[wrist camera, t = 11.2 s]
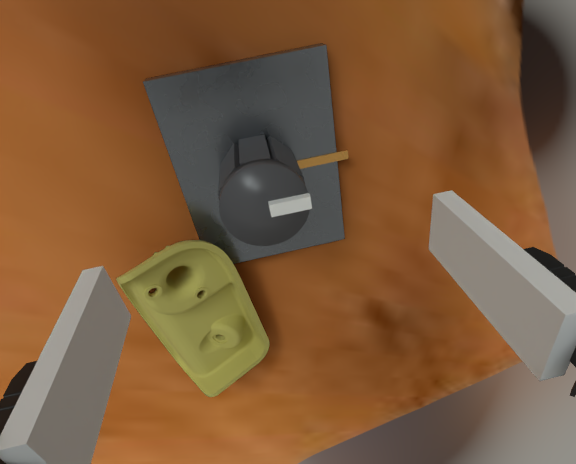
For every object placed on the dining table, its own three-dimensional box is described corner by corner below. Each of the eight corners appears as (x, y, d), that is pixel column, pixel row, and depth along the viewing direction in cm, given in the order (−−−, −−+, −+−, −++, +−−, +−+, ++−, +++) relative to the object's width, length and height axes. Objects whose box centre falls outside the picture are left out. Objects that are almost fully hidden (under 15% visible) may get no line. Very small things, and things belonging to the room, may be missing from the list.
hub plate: (146, 78, 28) (129, 93, 23) (334, 40, 29) (357, 47, 24) (210, 260, 38) (208, 299, 33) (349, 229, 38) (368, 262, 33)
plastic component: (274, 351, 43) (201, 407, 40) (244, 316, 49) (178, 363, 45) (215, 222, 31) (104, 287, 28) (184, 194, 37) (88, 246, 33)
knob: (231, 212, 34) (231, 258, 28) (212, 144, 30) (207, 179, 24) (301, 197, 34) (316, 240, 28) (290, 128, 30) (305, 159, 24)
